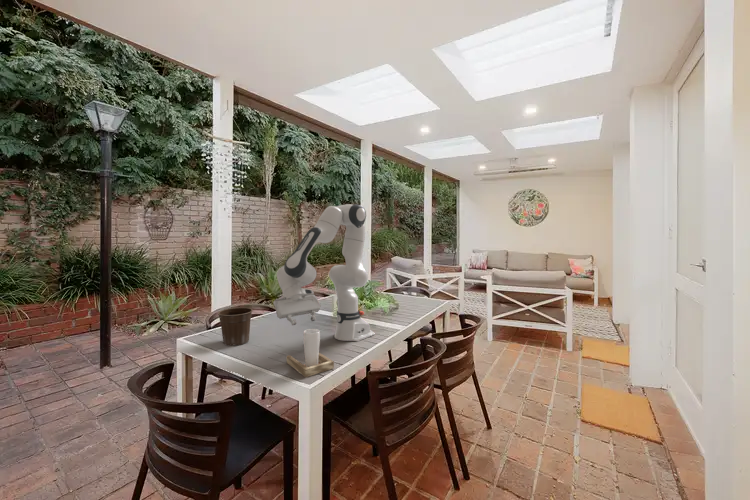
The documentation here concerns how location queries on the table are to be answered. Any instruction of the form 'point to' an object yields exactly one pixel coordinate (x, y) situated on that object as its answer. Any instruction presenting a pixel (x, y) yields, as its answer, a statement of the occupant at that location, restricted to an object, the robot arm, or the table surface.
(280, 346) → the table surface
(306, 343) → the white cup
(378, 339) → the table surface
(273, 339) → the table surface
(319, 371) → the guide channel
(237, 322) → the plant pot
